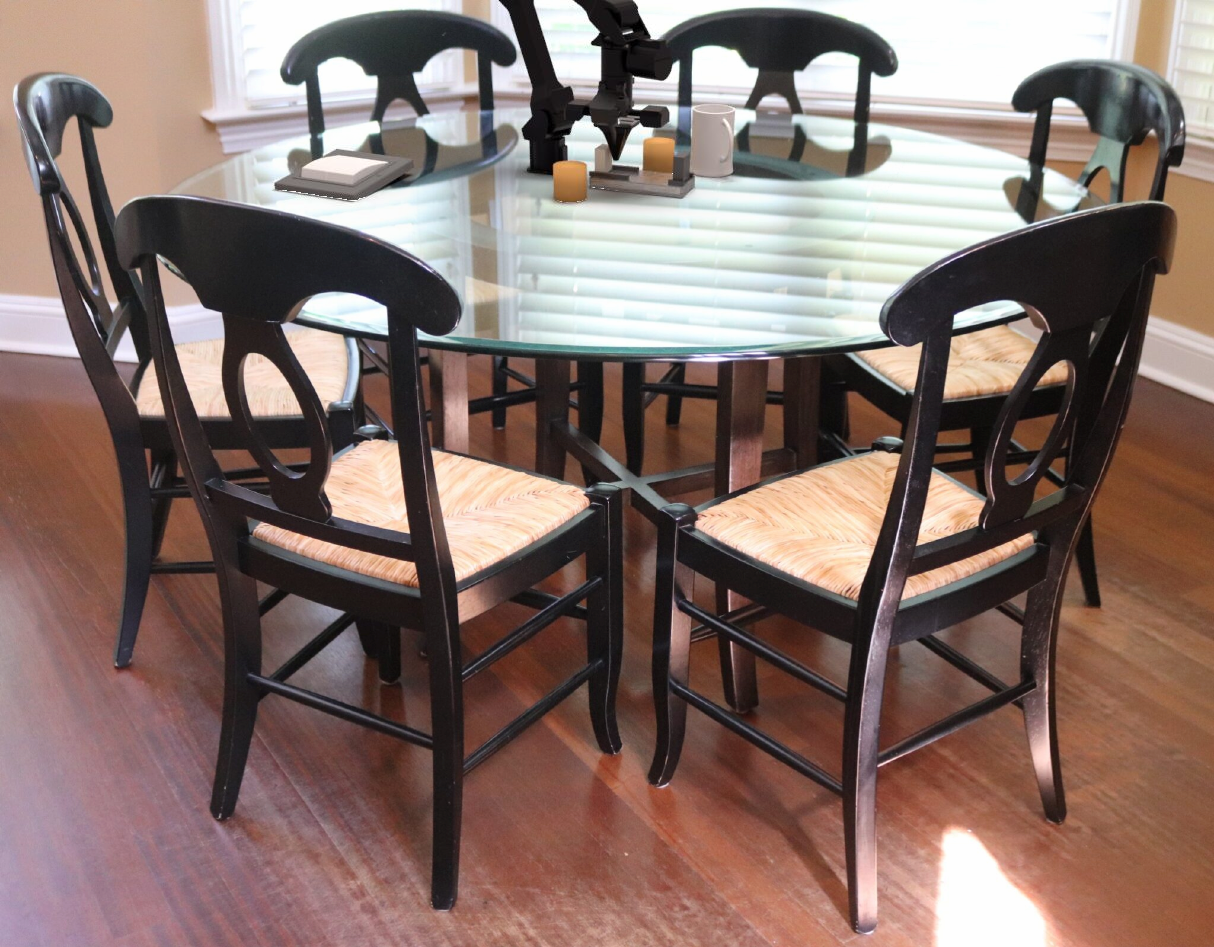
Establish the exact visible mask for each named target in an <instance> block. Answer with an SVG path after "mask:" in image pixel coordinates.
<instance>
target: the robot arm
mask: <svg viewBox="0 0 1214 947" xmlns="http://www.w3.org/2000/svg"><path fill="white" fill-rule="evenodd" d="M498 1H499V3H500V4H501V5H502V6H503V7H504V8H505V9H506V10H507V12H508V14H509V18H510V21H511V24H512V27H513V30H514V34H515V37H516V40H517V43H518V46H519V49H520V54H521V56H522V59H523V62H524V65H525V69H526V71H527V74H528V79H529V80H530V85H531V88H532V89H531V96H530V103H529V109H530V113H531V117H530V118H529V120H527V121H526V123H525V124H524V125H523V126H522V127H521V133H522V137H523V140H525V141H529V166H528V167H526V172H531V173H541V174H550V175H553V164H554V163H557V162H560V161H569V159H568V158H569V156H568V155H569V154H568V153H569V152H568V151H569V146H568V145H567V144H566V136H570V135H571V132H572V129H573V127H574V125H575V123H576V122H579V121H581V120H582V119H583V118H584V117H586V116H587V117H590V122H591V123H592V124H593V127H594V128H598V129H599V131H601V132H602V134H603V136H604V138H605V141H606V144H608V146H609V149H610V152H611V155H612V162H619V160H620V158H621V155H622V153H623V150H624V147H625V145H626V143H627V140H628V138H629V136H630V134H631V132H632V130H633V129H634V128H636V127H638V125H641V126H642V127H643V128H651V129H661V128H663V127H664V126H665V125H667V124H668V123H669V122H670V118H671V117H670V116H671V115H670V113H671V112H670V110H669V109H668V107H667V106H664V105H653V104H652V105H650V104H648V105H647V106H645V107H644V108H641V109H638V108H637V109H635V108H633V107H635V100H633V89H634V88H633V85H634V84H635V81H636V80H635V79H636V78H641V79H647V80H652V81H658V82H659V81H660V82H663V81H666V80H667V79H668V78H669V76H670V74H671V72H672V69H673V63H674V62H673V61H674V58H673V57H672V53H671V50H670V49H669V48H668V47H667V41H666V39H663V38H658V39H654V38H651V37H652V36H651V34H650V32H649V30H648V28H647V27H646V24H645V23H644V20H643V18H642V17H641V15H640V13H639V7H638V4H637V3H636V1H635V0H572V1H573V2H574V3H576V4H577V5H579V6H580V7H581V8H582V9H583V10H584V12H585V13H586V16H587V19H588V21H589V23H591V24H592V25H593V26H594V28H596V30H598V32H599V33H598V35H597V36H595V38H593V39H592V40H591V42H590V45H591V46H594V47H600V80H599V81H598V85H597V93H596V94H595V95H594V97H593V98H592V99H581V98H575V96H574V90H573V88H572V87H571V85H568V86H564V85H563V84H562V83H561V82H560V81H559V80H558V78H557V75H556V74H557V73H556V71H555V69H554V68H555V67H554V64H553V62H552V58H551V54H550V52H549V48H548V45H547V42H546V39H545V35H544V32H543V29H542V25H541V23H540V20H539V15H538V13H537V10H536V7H535V0H498Z"/></svg>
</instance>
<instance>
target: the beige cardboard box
mask: <svg viewBox="0 0 1214 947" xmlns="http://www.w3.org/2000/svg"><path fill="white" fill-rule="evenodd" d="M612 164H613V158H612V155H611V152H610V149H609V146H608V143H602V144H600V145H598V146H597V147H596V148H594V171H598V172H608V171H610V170H611V169H612Z"/></svg>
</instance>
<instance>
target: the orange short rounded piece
mask: <svg viewBox="0 0 1214 947" xmlns="http://www.w3.org/2000/svg"><path fill="white" fill-rule="evenodd" d="M675 143H676V142H675V140H674V139H673V138H667V137H657V136H654V137H648V138H645V139H643V142H642V170H643V171H652V172H662V173H673V157H674V156H675V149H676V148H675V145H676V144H675Z"/></svg>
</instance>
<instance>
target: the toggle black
mask: <svg viewBox="0 0 1214 947" xmlns="http://www.w3.org/2000/svg"><path fill="white" fill-rule="evenodd" d="M690 161H691V151H678V152H677V153H676V154H674V157H673V179H675V180H686V179H687V178H689V174H690Z"/></svg>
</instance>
